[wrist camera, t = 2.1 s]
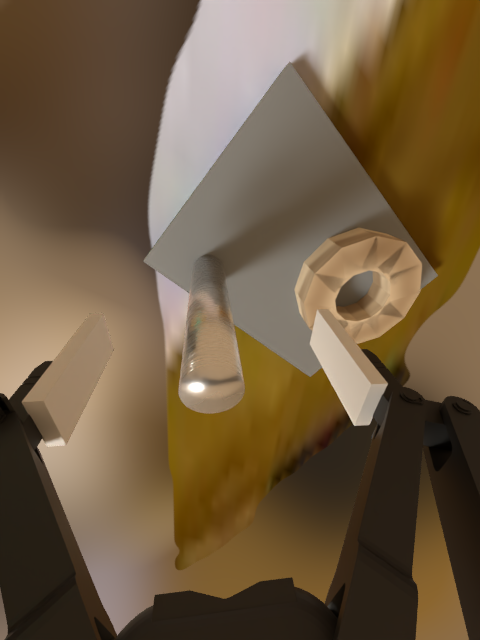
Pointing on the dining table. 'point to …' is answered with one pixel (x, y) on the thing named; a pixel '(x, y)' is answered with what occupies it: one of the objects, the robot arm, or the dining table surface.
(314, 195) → the board
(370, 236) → the tan faceted ring
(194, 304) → the peg
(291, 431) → the dining table surface
